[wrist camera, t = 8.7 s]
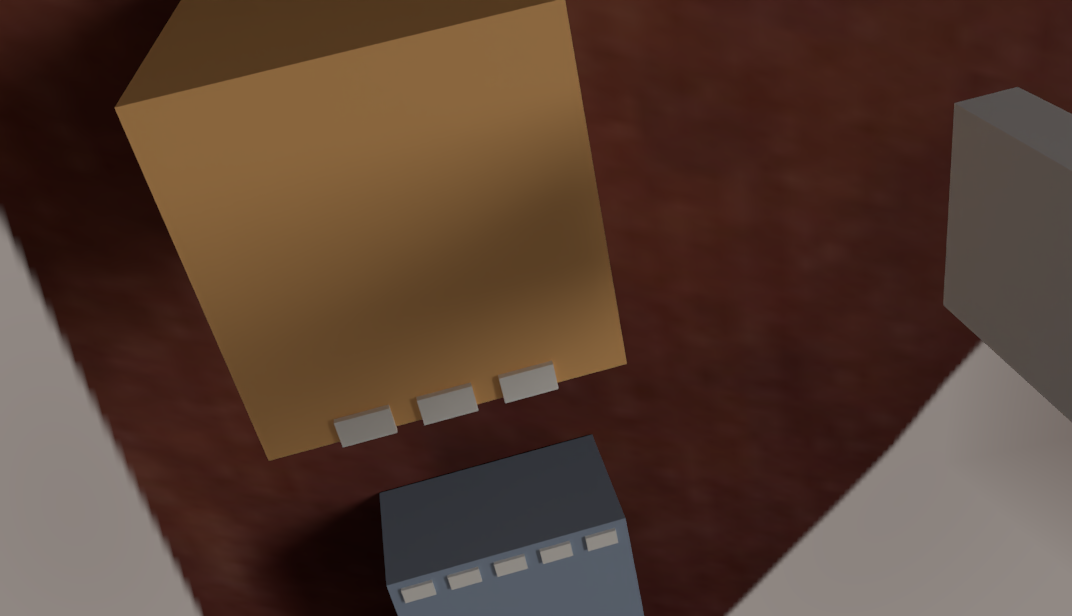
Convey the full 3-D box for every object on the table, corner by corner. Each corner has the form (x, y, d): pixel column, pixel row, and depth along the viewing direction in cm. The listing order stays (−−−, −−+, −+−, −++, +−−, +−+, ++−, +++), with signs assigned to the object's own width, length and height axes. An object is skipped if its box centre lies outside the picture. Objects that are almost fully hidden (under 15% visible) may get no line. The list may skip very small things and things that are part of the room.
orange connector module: (514, 142, 25) (629, 370, 16) (290, 198, 25) (269, 467, 15) (462, -101, 22) (566, 0, 13) (205, -41, 22) (112, 109, 12)
